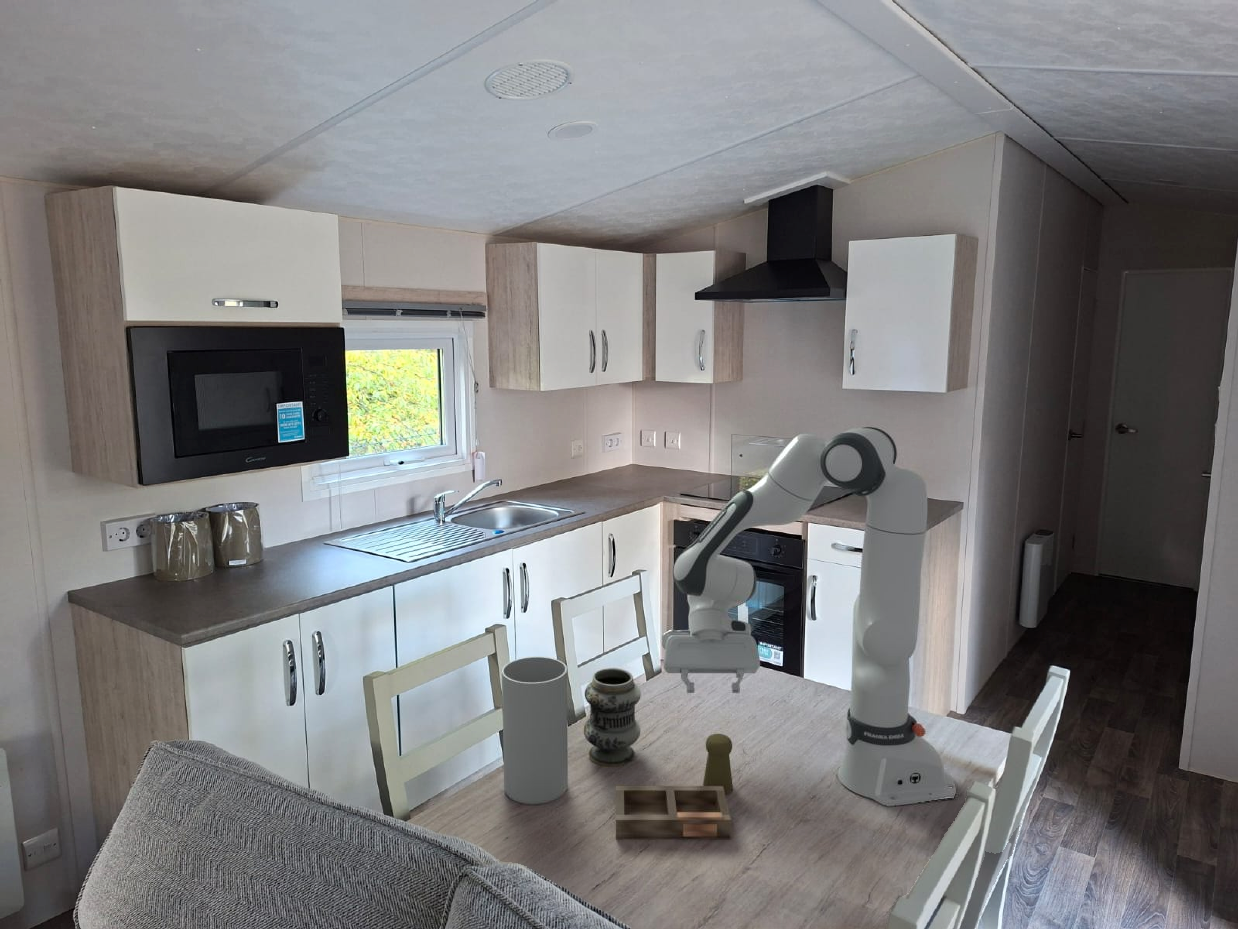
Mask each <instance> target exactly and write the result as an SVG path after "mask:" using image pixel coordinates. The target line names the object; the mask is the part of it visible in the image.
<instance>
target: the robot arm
mask: <svg viewBox="0 0 1238 929" xmlns="http://www.w3.org/2000/svg"><path fill="white" fill-rule="evenodd" d="M897 456H898V450H897V445H896V443H895V441H894V439H893V438H892V436H891V435H890V434H888V432H886V430H885V431H884V430H883V429H880V428H877V427H875V426H874V427H872V426H865V427H857V428H850V429H848V430H846V431H843V432H841V433H839V434H836V435H835V436H833V437H832V438H831V439H829V440H826V439H825V438H823V437H822V436H819V435H817V434H813V433H800V434H798V435H796V436H794V437H793V439H792V440H791V441H790V442H789V443H788V444H786V446H785V447H784V449H782V451H781V452H780V453H779V455H778V456H777V457H776V459H775V460H774V461H773V462H772V464H771V465H770V467H769V469H768V470H767V472H766V473H765V474H764V475H763V476H762V478H761V479H760V480H759V481H757V482H756V483H755V484H753V485H752V486H751V487H750V488H748V489H746V490H743V491H741V492H738V493H736V494H735V495H734V496H733V497H731V499H730V500H729V501H728V502H727V503H726V504H725V505H724V506H723V507H722V508H721V510H720V511H719V512H718V513H717V515H716V516H715V517H714V518H713V519H712V521H710V523H709V524H708V525H707V526H706V528H705V529H704V530H703V531H702V532H701V533H700V534H699V536H698V537H697V538H696V539H695V540H694V541H693V543H691V544H690V545H689V546H687V547H686V548H685V549H684V550H683V551H682V552H680V554H679V555H678V556H677V558H676V559H675V560H674V564H673V567H672V577H673V580H674V583H675V584H676V586H677V588H678V590H679V591H680V592H681V593H682V594H683V595H685V596H686V595H687V603H688V606H689V613H688V629H680V630H678V629H677V630H675V629H670V630H668V631H666V632H664V633H663V634H662V636H661V645H662V648H663V649H664V650H665V651H664V659H663V669H664V671H665V672H666V673H668V674H680V679H681V681H682V682H683V683H684V684H685V686H686V693H687V694H694V693H695V682H692V681H690V679H689V678H688V676H689V674H735V677H736V679H737V681H736V682H732V683H731V693H732V694H740V692H741V686H740V684H741V682H742V681H743V679H744V675H745V674H756V673H758V670H759V669H760V666H761V659H760V652H759V648H758V646H757V645H758V644H757V642H756V640H755V638H754V637H753V636H752V635H751V632H752V626H751V624H750V623H748V622H747V621H746V622H745V621H742V620H739V619H736V618H733V617H730V616H729V609H731V608H735V607H737V608H738V607H739V606H741V605H743V604H745V603H747V602H748V601H749V600H751V599H752V597H753V596H754V595H755V593H756V590H757V584H758V583H757V574H756V571H755V569H754V567H753V565H752V564H751V563H749V562H746V561H744V560H742V559H737V558H734V557H731V556H725V555H721V554H720V553H721V552H722V551H723V550H724V549H725V548H726V547H727V546H728V544H729V543H730V542H731V541H732V540H733V539H734V537H735V536H736V535H737V534H739V533H740V532H742V531H744V530H746V529H747V530H748V529H750V528H756V527H764V526H784V525H789V524H792V523H793V524H794V523H795V522H797V521H798V520H800V519H801V518H802V517H803V516H804V515H805V514H806V513H807V512H808V511H809V510H810V508H811V507H812V506H813V504H814V502H815V500H816V499H817V497H818V496H819V494H820V493H821V491H822V489H823V488H824V487H825V486H826V485H827V483H828V482H830V483H831V484H832V485H835V486H836V487H838V488H841V489H843V490H846V491H848V492H850V493H852V494H853V495H856V496H857V497H865V498H866V501H867V502H866V503H867V506H866V507H867V510H866V518H865V524H864V526H865V527H864V534H863V543H862V553H861V561H860V563H861V564H860V582H859V584H860V585H859V593H858V595H857V596H856V599H855V601H854V603H853V604H854V605H853V609H852V610H853V612H852V640H851V641H852V642H851V644H852V645H851V648H852V649H851V682H850V684H851V686H850V701H849V707H848V709H847V716H846V721H845V735H846V736H845V738H846V742H845V743H846V744H845V748H844V754H843V757H842V760H841V764H840V766H839V769H838V771H837V777H838V780H839V781H840V783H841V784H842V785H843V786H844V787H845V788H846V789H848V790H850V791H851V792H854V793H856V794H858V795H859V796H862V797H866V798H870V799H872V800H873V801H876V802H877V803H879V804H881V805H883V806H885V805H886V806H885V807H894V806H895V805H896V806H903V805H910V804H911V805H912V804H919V803H918V802H921V803H926V802H925V801H930V802H932V801H931V800H935V799H940V798H945V797H954V796H955V794H956V795H957V787H956V784H955V781H954V779H953V778H952V776H951V775H950V774H949V772H948V771H947V770H946V769H945V767H944V763H943V760H942V758H941V756H940V754H939V752H938V751H937V750H936V748H935V747H934V746H933V745H932V744H931V743H930V742H928V741H927V740H926V739H925V738H923V737H924V736H925V735H926V729H925V728H924V727H923V725H922V724H921V723H917V722H918V721H917V720H916V718H915V717H914V716H912V715H911V714H910V713H909V701H910V699H909V698H910V687H911V686H910V685H911V676H910V673H911V672H910V658H911V657H912V656H913V654H914V652H915V650H916V647H917V642H918V635H919V634H918V633H919V620H920V619H919V618H920V603H921V583H922V582H921V578H922V576H921V574H922V565H923V557H924V549H925V541H926V533H927V523H928V493H927V490H928V489H927V484H926V482H925V480H924V479H923V477H922V476H920V475H919V474H918V473H917V472H914V471H912V470H909V469H906V468H905V469H904V468H900V467H897V466H896V462H897ZM949 787H952V788H949ZM955 797H956V796H955ZM896 806H895V807H896Z"/></svg>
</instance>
